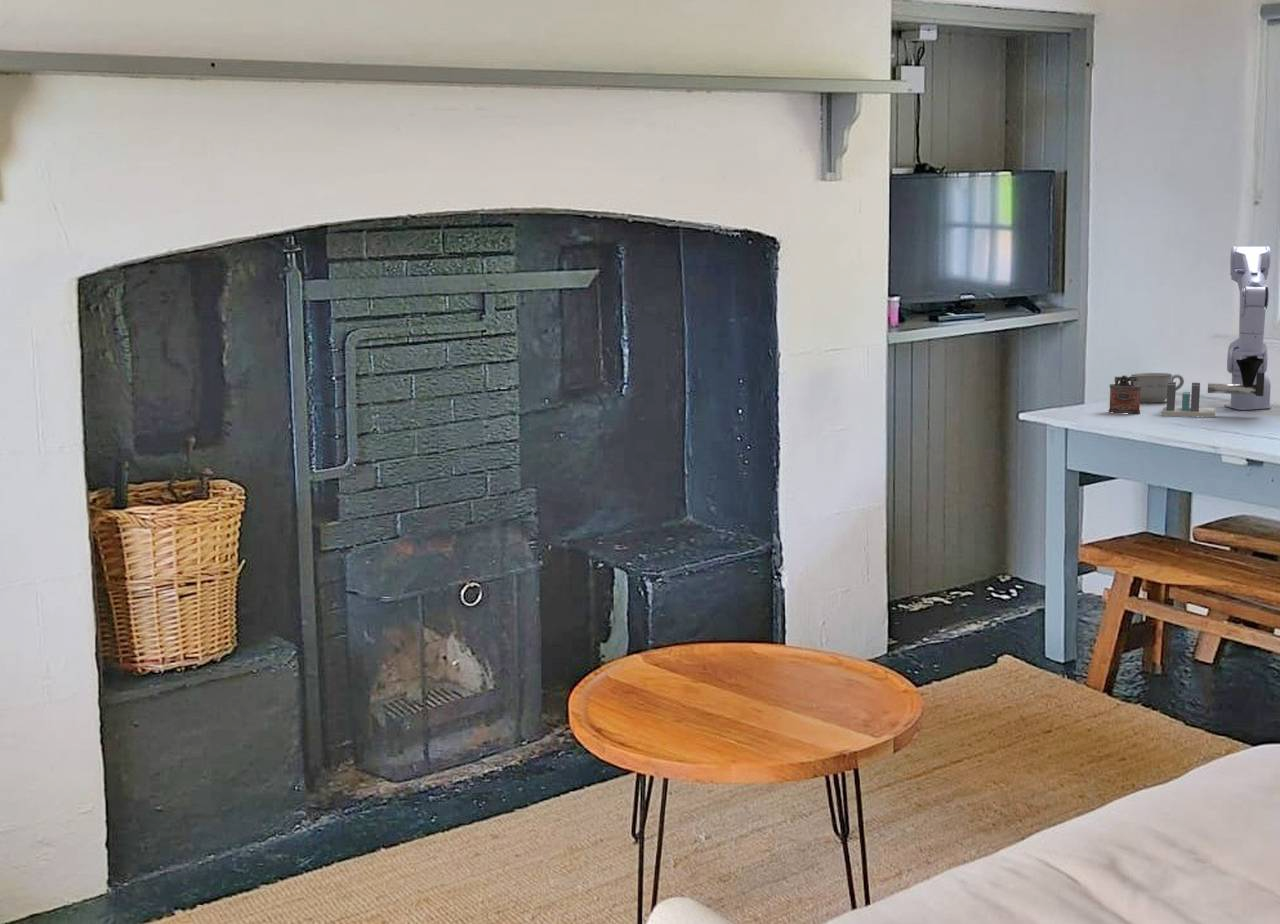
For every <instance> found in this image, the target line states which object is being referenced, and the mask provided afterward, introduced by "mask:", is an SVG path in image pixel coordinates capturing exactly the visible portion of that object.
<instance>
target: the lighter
mask: <svg viewBox="0 0 1280 924" xmlns="http://www.w3.org/2000/svg"><path fill="white" fill-rule="evenodd" d="M1133 381H1134V382H1138V381H1139V378H1138V377H1134V376H1128V375H1126V374H1123V375H1122V376H1114V383H1111V384H1109V409H1108V413H1109V412H1113V413H1112V414H1115V413H1128V414H1127V415H1135V414H1137V415H1141V410H1140V406H1141V402H1140V389H1141V385H1134V382H1133Z"/></svg>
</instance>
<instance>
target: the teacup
mask: <svg viewBox="0 0 1280 924" xmlns="http://www.w3.org/2000/svg"><path fill="white" fill-rule="evenodd" d="M1131 376H1134V377H1138V378H1139V381H1138V382H1134V381H1133V382H1134V385H1141V389H1140V403H1163V402H1165V401H1166V400H1167V386H1168V382H1174V380H1175V379H1179V383H1178V384H1177V385H1176V392H1177V391H1178V390H1180V389H1181V388H1182V387H1183V386H1184V383H1185V379H1184V377H1183V375H1181V374H1177V373H1175V374H1172V373H1167V372H1140V373H1131Z"/></svg>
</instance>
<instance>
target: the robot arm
mask: <svg viewBox="0 0 1280 924" xmlns="http://www.w3.org/2000/svg"><path fill="white" fill-rule="evenodd" d="M1229 266H1230V272H1229V274H1230V277H1231V278H1230V279H1231V280H1232V281H1234V282H1236V283H1237V287H1238V289H1239V320H1238V321H1239V324H1238V325H1239V326H1238V327H1239V329H1238V330H1239V331H1238V332H1239V333H1238V335H1239V336H1238V338H1237V339H1235V340H1234V341H1232V342H1230V343H1229V345H1228V348H1227V358H1226V359H1227V361H1226V370H1227V372H1228V373H1229V374H1231V384H1243V386H1253V385H1256V376H1257V372H1264V373H1266V372H1267V371H1268V347H1267V344H1266V343H1265V342H1264V336H1265V325H1266V323H1265V321H1266V310H1267V308H1268V306H1269V300H1270V290H1269V286H1268V285H1266V280H1267V278H1268V275H1269V270H1270V266H1271V248H1270V247H1269V246H1268V245H1266V246H1235V245H1233V246H1232V247H1231V249H1230V265H1229ZM1271 389H1272V388H1271V381H1270V378H1269V376H1267V375H1266V374H1264V392H1263V396H1256V395H1255V394H1230V403H1226V404H1225V403H1224V404H1223V407H1224V408H1225V407H1226V408H1230V409H1235V410H1238V411H1246V410H1247V411H1248V410H1249V411H1250V410H1265V409H1267V410H1268V409H1271V408H1272V406H1271V405H1270V404H1271V403H1270V402H1271Z"/></svg>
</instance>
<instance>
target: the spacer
mask: <svg viewBox="0 0 1280 924" xmlns="http://www.w3.org/2000/svg"><path fill="white" fill-rule="evenodd" d="M1181 398H1182V399H1181V407H1182V411H1189V407H1190V403H1191V392H1190V391H1182V397H1181Z"/></svg>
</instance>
